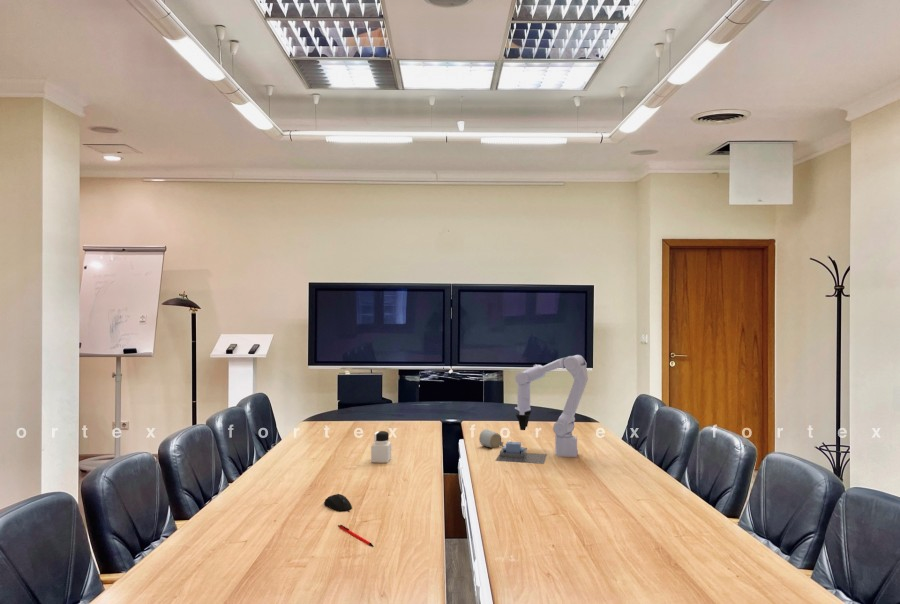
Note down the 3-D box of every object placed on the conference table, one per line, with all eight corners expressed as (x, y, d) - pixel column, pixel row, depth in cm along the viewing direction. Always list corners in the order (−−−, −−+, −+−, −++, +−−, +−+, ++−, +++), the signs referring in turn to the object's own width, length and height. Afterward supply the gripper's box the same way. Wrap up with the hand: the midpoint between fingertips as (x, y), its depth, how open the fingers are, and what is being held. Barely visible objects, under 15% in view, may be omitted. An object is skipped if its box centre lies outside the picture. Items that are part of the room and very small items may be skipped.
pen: (339, 526, 166) (339, 522, 166) (374, 547, 152) (375, 543, 152) (336, 527, 166) (337, 523, 166) (372, 548, 151) (372, 544, 151)
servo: (524, 454, 245) (524, 440, 245) (523, 456, 241) (523, 442, 241) (503, 452, 247) (503, 439, 247) (502, 455, 243) (502, 441, 243)
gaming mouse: (343, 517, 174) (343, 504, 174) (320, 504, 185) (320, 492, 185) (361, 512, 178) (361, 500, 178) (337, 500, 189) (337, 488, 189)
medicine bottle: (391, 458, 241) (391, 430, 241) (387, 462, 234) (387, 433, 234) (374, 458, 242) (374, 429, 242) (370, 462, 235) (370, 433, 235)
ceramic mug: (491, 450, 256) (491, 433, 256) (478, 446, 262) (478, 430, 262) (507, 446, 262) (507, 430, 263) (495, 443, 269) (495, 427, 269)
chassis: (547, 456, 245) (547, 449, 245) (543, 465, 230) (543, 458, 230) (501, 453, 250) (501, 446, 250) (495, 462, 235) (495, 455, 235)
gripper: (517, 395, 263) (517, 424, 263) (512, 400, 249) (512, 431, 249) (532, 395, 262) (532, 425, 262) (528, 400, 248) (528, 431, 247)
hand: (523, 428), depth 255 cm, fingers open, 7 cm apart
